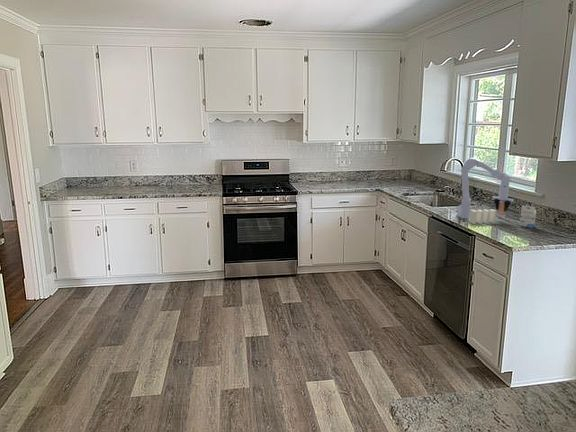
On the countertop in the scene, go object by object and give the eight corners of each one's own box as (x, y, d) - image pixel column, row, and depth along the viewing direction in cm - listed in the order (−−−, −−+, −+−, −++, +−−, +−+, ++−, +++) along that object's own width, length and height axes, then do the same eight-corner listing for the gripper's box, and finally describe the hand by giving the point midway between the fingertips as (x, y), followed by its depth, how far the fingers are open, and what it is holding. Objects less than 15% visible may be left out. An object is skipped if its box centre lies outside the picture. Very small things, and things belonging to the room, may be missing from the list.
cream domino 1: (469, 222, 300) (470, 209, 298) (471, 222, 300) (472, 209, 298) (473, 224, 295) (474, 211, 293) (475, 224, 295) (477, 211, 293)
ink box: (534, 227, 290) (537, 206, 287) (532, 228, 287) (535, 207, 283) (520, 224, 296) (523, 204, 293) (518, 226, 292) (521, 205, 289)
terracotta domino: (497, 213, 308) (499, 201, 306) (499, 213, 308) (501, 201, 306) (502, 215, 303) (503, 202, 301) (504, 215, 303) (505, 202, 301)
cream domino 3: (482, 221, 301) (483, 209, 299) (484, 221, 302) (485, 209, 300) (486, 223, 297) (488, 211, 294) (488, 223, 297) (490, 211, 295)
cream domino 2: (475, 222, 301) (477, 209, 298) (477, 222, 301) (479, 209, 299) (480, 223, 296) (481, 211, 294) (482, 223, 296) (483, 211, 294)
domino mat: (463, 221, 305) (463, 220, 305) (499, 219, 310) (499, 219, 310) (473, 225, 293) (473, 224, 293) (510, 223, 298) (510, 223, 298)
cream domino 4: (488, 221, 302) (490, 209, 300) (490, 221, 302) (492, 209, 300) (493, 223, 297) (494, 210, 295) (495, 223, 298) (496, 210, 296)
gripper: (490, 190, 305) (488, 209, 308) (511, 193, 294) (508, 212, 297) (496, 189, 309) (493, 208, 312) (516, 192, 298) (513, 211, 301)
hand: (501, 210), depth 305 cm, fingers closed on terracotta domino, 5 cm apart
